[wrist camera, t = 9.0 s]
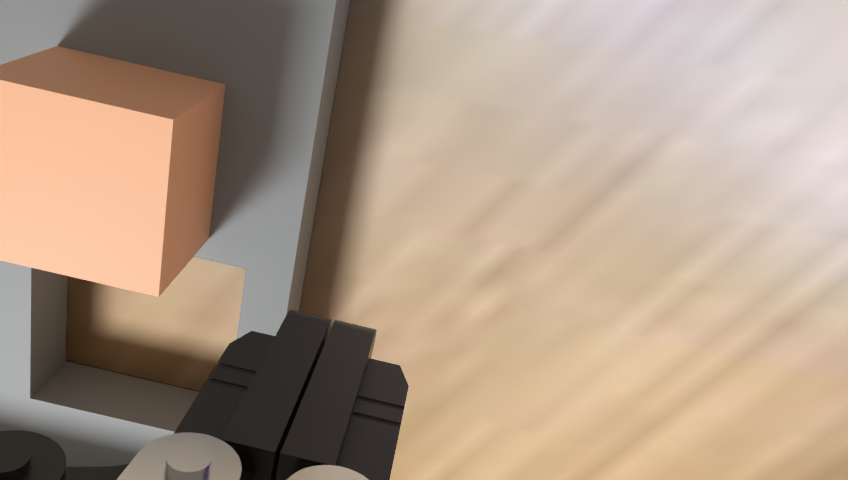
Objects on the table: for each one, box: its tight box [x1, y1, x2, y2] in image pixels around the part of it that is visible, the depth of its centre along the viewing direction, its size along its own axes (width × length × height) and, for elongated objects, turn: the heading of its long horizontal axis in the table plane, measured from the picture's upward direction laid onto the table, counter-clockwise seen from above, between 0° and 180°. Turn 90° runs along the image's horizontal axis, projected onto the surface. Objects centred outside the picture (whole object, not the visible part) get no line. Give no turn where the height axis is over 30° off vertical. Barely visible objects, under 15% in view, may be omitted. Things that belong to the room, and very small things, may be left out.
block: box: [0, 46, 225, 297], centre depth 22 cm, size 5×5×4 cm
